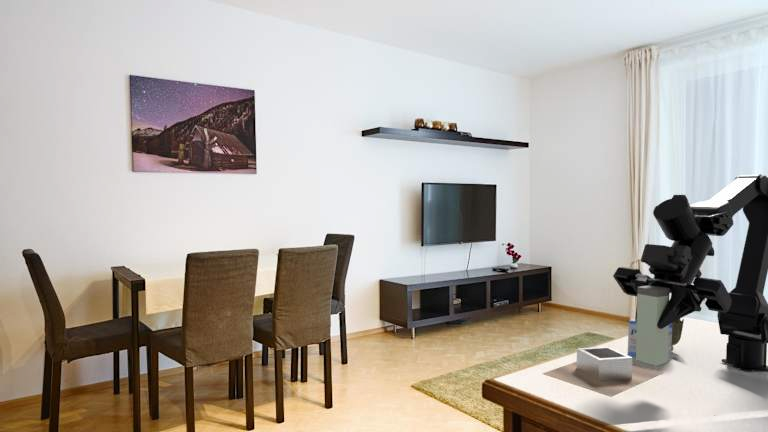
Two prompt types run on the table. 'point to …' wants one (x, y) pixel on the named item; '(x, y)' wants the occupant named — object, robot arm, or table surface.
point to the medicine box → (632, 338)
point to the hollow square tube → (604, 363)
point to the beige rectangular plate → (606, 386)
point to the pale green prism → (651, 325)
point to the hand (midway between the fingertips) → (647, 324)
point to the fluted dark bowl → (676, 331)
